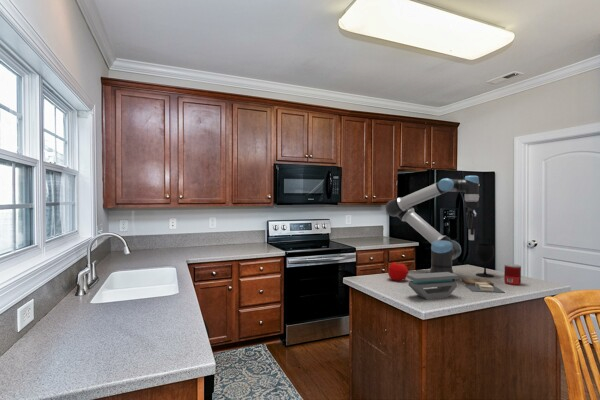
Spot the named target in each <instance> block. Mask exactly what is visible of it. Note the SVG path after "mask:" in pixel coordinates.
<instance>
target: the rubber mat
mask: <svg viewBox="0 0 600 400" xmlns="http://www.w3.org/2000/svg"><path fill="white" fill-rule="evenodd" d="M464 285H465V284H464ZM465 287H466V288H467V289H469V290H470V291H471V292H473V293H474V292H477V293H478V292H479V293H498V294H499V293H500V294H505V293H506V292H505V291H504V290H502V289H501V288H499V287H497V286H493V287H494V291H485V290H480V289H479V288H477V287H476V286H474V285H465Z"/></svg>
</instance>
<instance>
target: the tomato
mask: <svg viewBox="0 0 600 400" xmlns="http://www.w3.org/2000/svg"><path fill="white" fill-rule="evenodd" d="M407 275H409V269H408V267H407V265H406V264H404V263H402V262H398V261H396V262H395V261H392V262H391V263H390V264H389V267H388V276H389V278H390V279H391V280H392V281H396V282H397V281H398V282H400V281H405V279H407Z"/></svg>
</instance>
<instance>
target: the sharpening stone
mask: <svg viewBox="0 0 600 400" xmlns="http://www.w3.org/2000/svg"><path fill="white" fill-rule="evenodd" d="M406 279H408V284H407V285H408V286H409V287H410V288H411V290H412V291H414V293H415V294H416V295H417V296H419V297H421V298H423V299H425V300H429V301H430V300H437V299H439V300H440V299H447V298H449V297H450V295H451V294H452V293H453V292H454V291H455V290H456V288H457V287H458V282H457V281H456V280H457V279H460V275H459V274H456V273H454V274H453V273H450V272H439V273H429V272H427V273H414V274H413V273H411V274H410V273H408V275H407V277H406ZM452 279H455V281H453V280H452Z"/></svg>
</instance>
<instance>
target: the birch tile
mask: <svg viewBox="0 0 600 400" xmlns="http://www.w3.org/2000/svg"><path fill="white" fill-rule="evenodd" d="M475 286H476V287H477V288H479V289H480V290H485V291H494V287H493V286H491V285H489V284H488V283H481V282H475Z"/></svg>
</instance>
